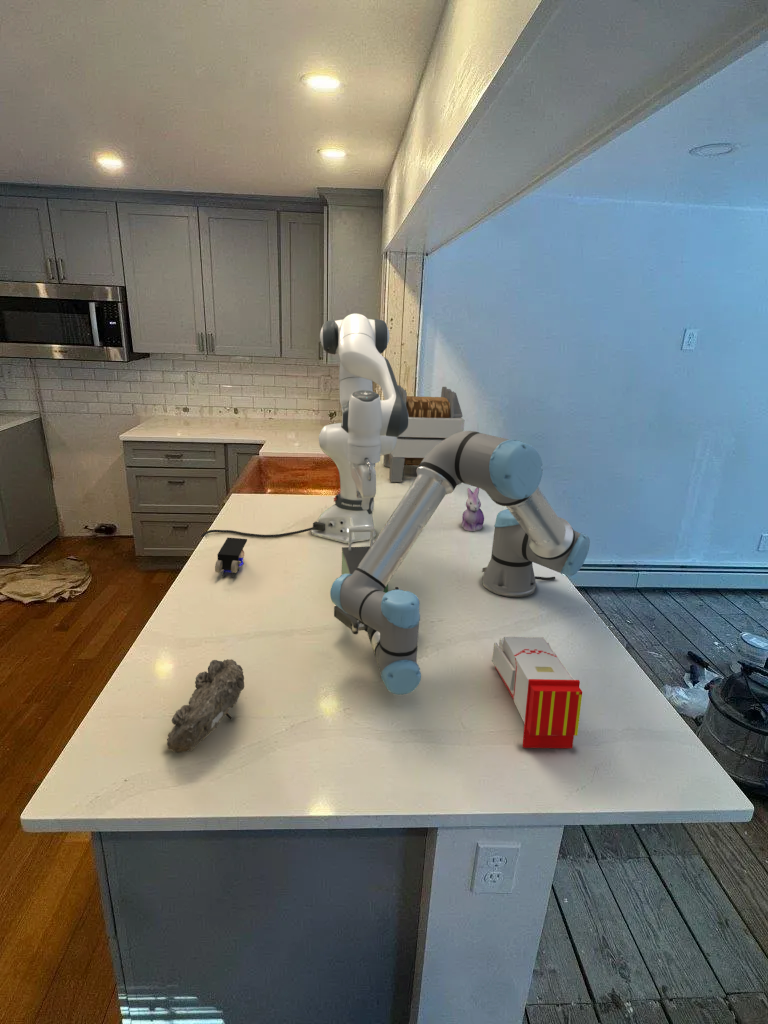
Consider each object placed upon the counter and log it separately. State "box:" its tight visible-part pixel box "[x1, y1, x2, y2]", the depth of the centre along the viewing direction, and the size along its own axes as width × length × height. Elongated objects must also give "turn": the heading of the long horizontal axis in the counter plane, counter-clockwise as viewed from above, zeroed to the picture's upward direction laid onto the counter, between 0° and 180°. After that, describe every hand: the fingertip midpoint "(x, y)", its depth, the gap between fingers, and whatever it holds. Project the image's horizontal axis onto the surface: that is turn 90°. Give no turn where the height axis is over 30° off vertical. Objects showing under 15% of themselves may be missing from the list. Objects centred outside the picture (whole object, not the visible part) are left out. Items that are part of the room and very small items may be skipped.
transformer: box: [383, 384, 465, 483], centre depth 268 cm, size 34×33×41 cm
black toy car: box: [214, 537, 248, 578], centre depth 166 cm, size 7×8×15 cm
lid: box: [341, 525, 375, 574], centre depth 153 cm, size 17×10×8 cm, turn 11°
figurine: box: [461, 487, 485, 532], centre depth 206 cm, size 9×10×15 cm
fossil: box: [166, 658, 245, 754], centre depth 106 cm, size 22×10×15 cm
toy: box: [491, 636, 583, 749], centre depth 115 cm, size 12×13×30 cm
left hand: (362, 503), depth 155 cm, fingers open, 8 cm apart
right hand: (370, 593), depth 143 cm, fingers open, 13 cm apart
